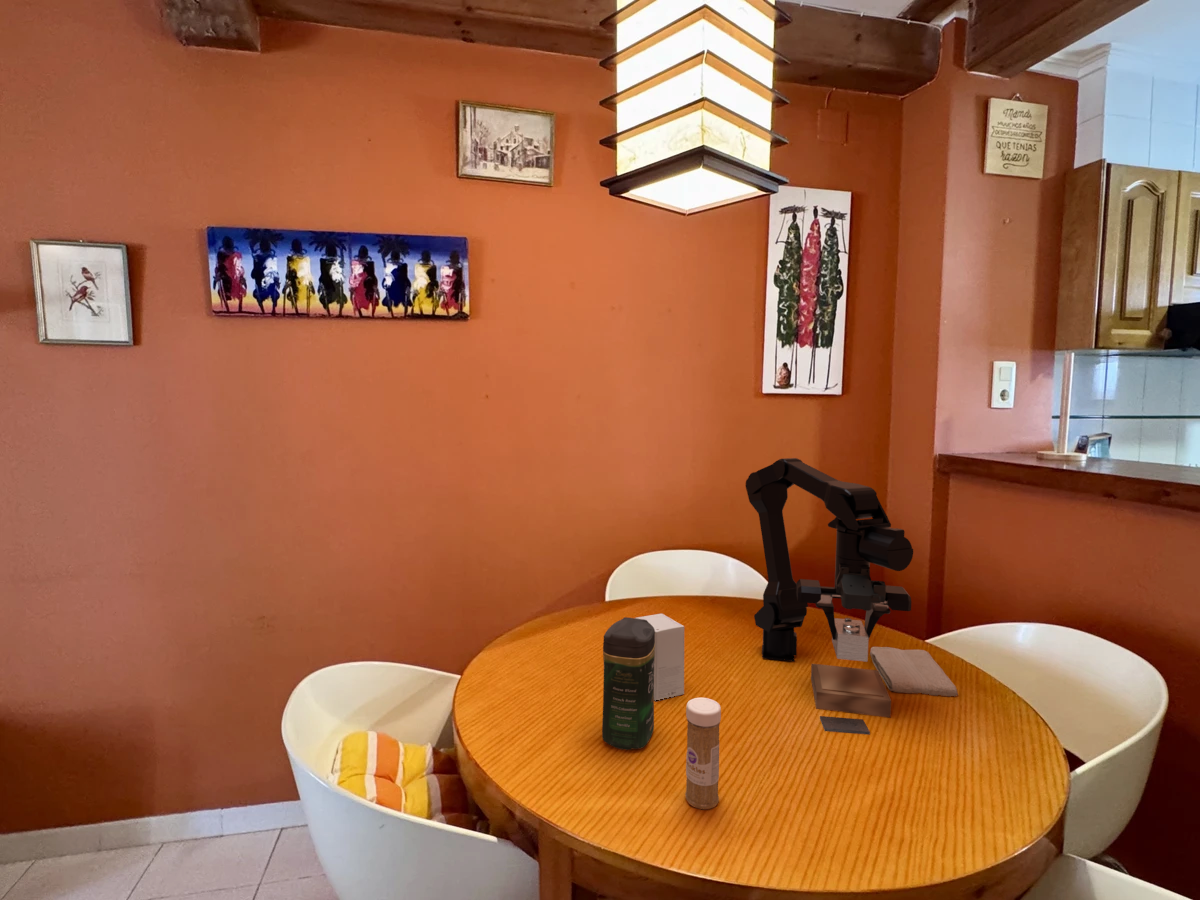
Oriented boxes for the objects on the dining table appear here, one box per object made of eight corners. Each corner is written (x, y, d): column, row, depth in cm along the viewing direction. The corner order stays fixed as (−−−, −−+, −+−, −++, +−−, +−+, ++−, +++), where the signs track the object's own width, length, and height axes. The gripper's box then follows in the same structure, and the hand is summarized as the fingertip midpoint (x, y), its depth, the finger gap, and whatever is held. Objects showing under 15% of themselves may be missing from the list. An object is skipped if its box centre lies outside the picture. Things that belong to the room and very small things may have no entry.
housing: (832, 641, 115) (833, 612, 114) (860, 643, 113) (861, 615, 113) (837, 658, 107) (838, 628, 106) (867, 661, 106) (868, 631, 105)
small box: (684, 694, 111) (685, 626, 110) (655, 702, 109) (655, 631, 108) (661, 677, 119) (662, 612, 118) (633, 683, 116) (633, 617, 115)
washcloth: (925, 659, 128) (925, 645, 127) (960, 701, 110) (961, 684, 110) (865, 655, 130) (866, 641, 129) (891, 695, 112) (891, 679, 112)
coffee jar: (646, 756, 92) (647, 637, 91) (596, 747, 94) (596, 632, 93) (659, 724, 101) (659, 616, 100) (613, 717, 104) (613, 611, 102)
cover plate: (824, 733, 99) (824, 728, 99) (819, 721, 103) (819, 715, 103) (869, 737, 98) (869, 731, 98) (862, 725, 102) (863, 719, 102)
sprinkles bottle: (678, 801, 82) (679, 705, 81) (696, 784, 85) (697, 692, 84) (708, 816, 79) (710, 716, 78) (725, 798, 82) (727, 703, 81)
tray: (816, 708, 106) (816, 690, 106) (810, 678, 118) (811, 662, 118) (890, 717, 103) (891, 699, 103) (877, 685, 115) (878, 669, 115)
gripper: (800, 564, 103) (798, 652, 104) (921, 572, 98) (916, 665, 100) (797, 548, 114) (794, 629, 115) (905, 555, 109) (901, 639, 110)
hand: (849, 640), depth 110 cm, fingers closed on housing, 5 cm apart
